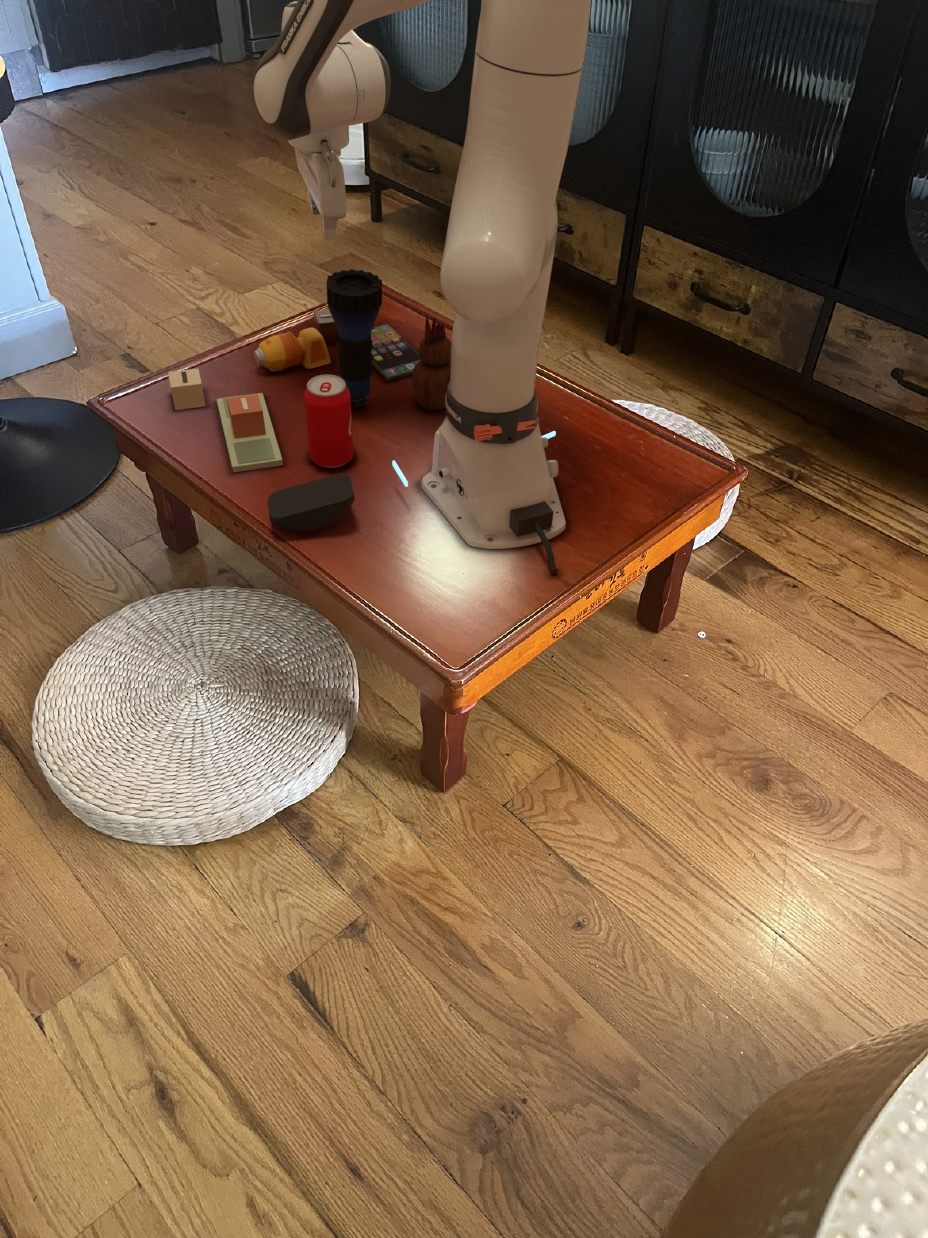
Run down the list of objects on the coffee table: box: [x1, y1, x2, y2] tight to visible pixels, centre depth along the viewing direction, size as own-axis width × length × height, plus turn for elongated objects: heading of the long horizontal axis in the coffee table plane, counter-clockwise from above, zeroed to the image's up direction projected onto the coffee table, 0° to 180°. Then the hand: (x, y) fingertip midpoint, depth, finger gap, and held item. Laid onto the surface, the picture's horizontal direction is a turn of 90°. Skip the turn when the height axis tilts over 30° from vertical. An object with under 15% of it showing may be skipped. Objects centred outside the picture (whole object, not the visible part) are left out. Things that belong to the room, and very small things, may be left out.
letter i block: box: [167, 368, 206, 411], centre depth 141 cm, size 4×4×4 cm
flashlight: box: [325, 269, 383, 408], centre depth 136 cm, size 8×8×20 cm
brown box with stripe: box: [313, 309, 338, 346], centre depth 157 cm, size 4×4×4 cm
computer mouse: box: [267, 473, 355, 533], centre depth 122 cm, size 6×11×4 cm, turn 102°
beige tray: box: [216, 392, 284, 473], centre depth 135 cm, size 18×7×5 cm, turn 17°
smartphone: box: [371, 323, 421, 382], centre depth 154 cm, size 8×15×1 cm, turn 31°
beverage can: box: [303, 374, 355, 469], centre depth 130 cm, size 6×6×12 cm
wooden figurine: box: [411, 317, 452, 411], centre depth 139 cm, size 7×6×15 cm
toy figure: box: [253, 327, 332, 372], centre depth 149 cm, size 5×6×12 cm
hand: (323, 225), depth 145 cm, fingers open, 8 cm apart
